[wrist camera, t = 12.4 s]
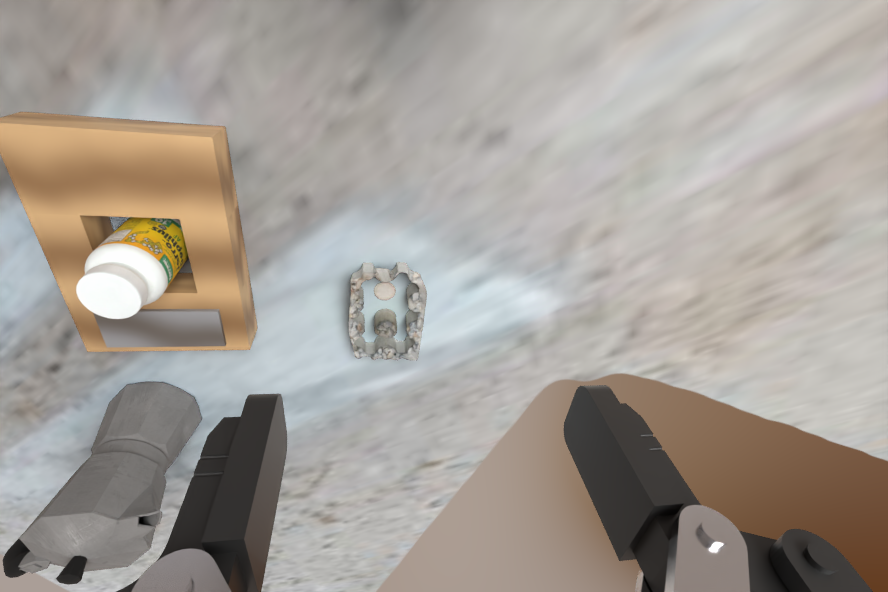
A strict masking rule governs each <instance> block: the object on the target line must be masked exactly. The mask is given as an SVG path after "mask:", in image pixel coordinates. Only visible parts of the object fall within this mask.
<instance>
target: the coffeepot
mask: <svg viewBox="0 0 888 592" xmlns="http://www.w3.org/2000/svg"><path fill="white" fill-rule="evenodd" d="M201 420H202V418H201V414H200V410H199V406H198V404H197V402H196V401H195V399H194V397H192V396H191V395H190V394H188V393H187V392H185V391H184V390H182V389H180V388H178V387H175V386H173V385H169V384H166V383H161V382H140V383H136V384H131V385H126V386H125V387H124V388H123V389H122V390H121V391H120V392H119V393H118V395H117V396H116V397H115V398H114V399H113V400H112V401H111V402H110V403H109V405H108V408H107V410H106V413H105V416H104V418H103V421H102V423H101V426H100V429H99V431H98V434H97V436H96V439H95V442H94V444H93V447H92V449H91V451H92V455H91V457H90V458H89V459H88V460H87V461H86V462H85V463H84V464H83V465H82V466H81V467H80V468H79V469H78V470H77V471H76V472H75V473H74V475H73V476H72V477H71V478H70V479H69V480H68V482H67V483H66V484H65V485H64V486H63V488H62V489H61V490H60V491H59V492H58V493H57V495H56V496H55V497H54V498H53V499H52V500H51V502H50V503H49V504H48V505H47V506H46V507H45V509H44V510H43V511H42V512H41V513H40V515H39V516H38V517H37V518H36V519H35V520H34V522H33V523H32V524H31V525H30V526H29V527H28V529H27V530H26V531H25V532H24V533H23V534H22V535H21V536H20V538H19V539H18V540H17V541H16V542H15V543H14V544H13V545H12V547H11V548H10V549H9V550H8V551H7V553H6V554H5V556H4V558H3V566H4V572H5V575H6V576H8V577H10V578H13V577H18V576H21V575H23V574H25V573H27V572H31V573H35V572H38V571H41V570H43V569H46V568H48V566H49V564H54V565H59V566H63V567H65V568H64V569H63V570H62V572H61V573H60V574H59V576H58V577H57V578H56V579H57V580H58V581H59V582H60V583H64V584H77V583H78V582H79V581H81V579H82V575H83V572H85V571H94V570H103V569H112V568H120V567H128V566H129V565H131V564H132V563H133V562H134V561H136V560H137V559H138V558H139V557H141V556H142V555H143V554H144V553H145V552H147V551H148V550H149V549H150V547H151V544H152V540H153V535H154V531H155V527H156V526H157V525H158V524H160V521H161V518H162V512H161V511H160V507H161V502H162V498H163V494H164V490H165V486H166V479H165V476H164V474H165V472H166V470H167V469H168V468H169V467H170V465H171V464H172V463H173V462H174V461H175V459H176V458H177V456H178V455H179V453H180V452H181V450H182V449H183V447H184V446H185V444H186V443H187V441H188V439H189V438H190V436H191V435H192V433H193V432H194V430H195V429H196V427H197V426H198V424H199V423H200V421H201Z"/></svg>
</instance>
